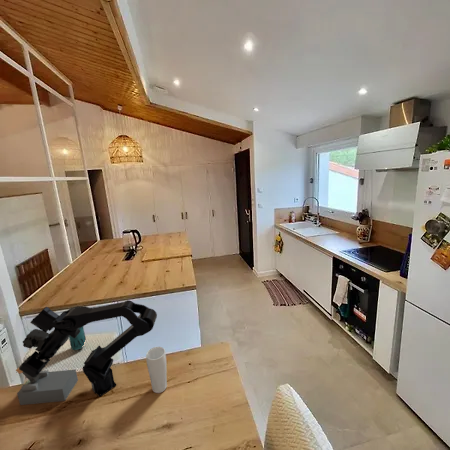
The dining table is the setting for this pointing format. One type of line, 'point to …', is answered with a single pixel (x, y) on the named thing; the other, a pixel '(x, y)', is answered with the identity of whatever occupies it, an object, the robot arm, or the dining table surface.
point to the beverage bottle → (78, 339)
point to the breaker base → (48, 387)
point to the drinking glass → (157, 368)
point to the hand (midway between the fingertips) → (33, 366)
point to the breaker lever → (33, 380)
